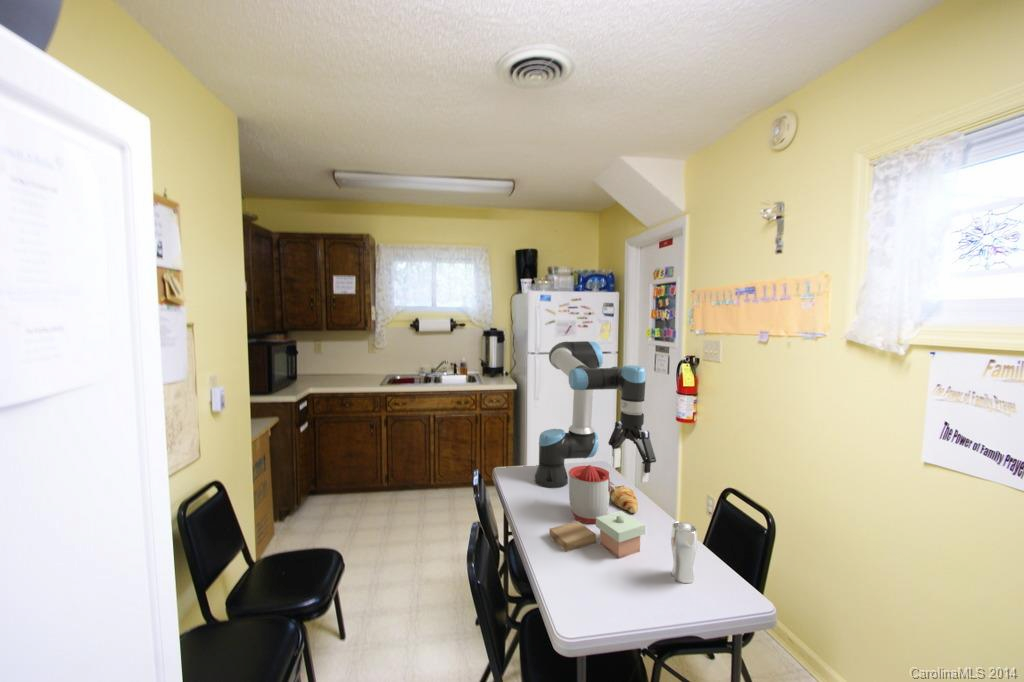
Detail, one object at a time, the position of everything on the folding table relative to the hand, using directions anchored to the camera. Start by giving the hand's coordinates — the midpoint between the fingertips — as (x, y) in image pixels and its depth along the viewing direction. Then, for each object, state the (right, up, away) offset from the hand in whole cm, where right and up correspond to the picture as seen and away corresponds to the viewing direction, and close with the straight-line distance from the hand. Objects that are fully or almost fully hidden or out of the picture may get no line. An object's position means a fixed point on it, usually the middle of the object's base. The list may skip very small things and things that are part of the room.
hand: (629, 474), depth 140 cm
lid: (-5, -17, -4) cm, 18 cm away
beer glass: (+10, -24, -19) cm, 32 cm away
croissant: (+5, -22, +29) cm, 36 cm away
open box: (-5, -23, -4) cm, 24 cm away
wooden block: (-19, -23, +1) cm, 30 cm away
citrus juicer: (-10, -22, +17) cm, 29 cm away
